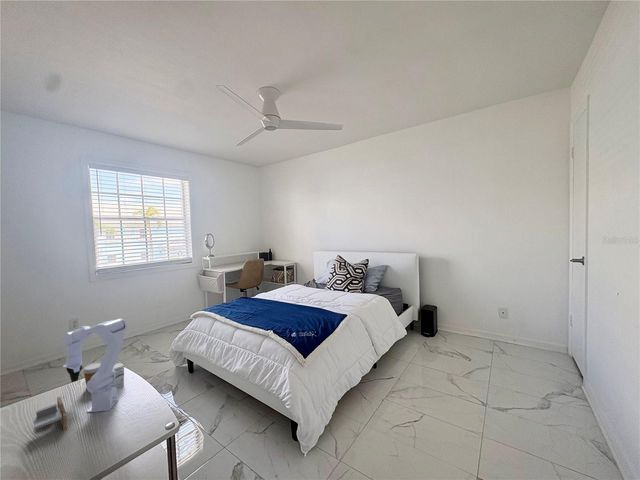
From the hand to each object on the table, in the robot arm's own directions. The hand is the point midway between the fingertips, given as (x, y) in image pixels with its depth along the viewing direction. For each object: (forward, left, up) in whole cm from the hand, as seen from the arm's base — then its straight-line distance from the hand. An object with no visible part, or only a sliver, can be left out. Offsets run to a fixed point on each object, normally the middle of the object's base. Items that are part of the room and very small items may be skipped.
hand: (74, 380), depth 131 cm
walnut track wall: (-4, +13, -10) cm, 17 cm away
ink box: (-12, -10, -11) cm, 19 cm away
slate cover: (-4, +21, -5) cm, 22 cm away
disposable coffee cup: (-1, -12, -11) cm, 16 cm away
